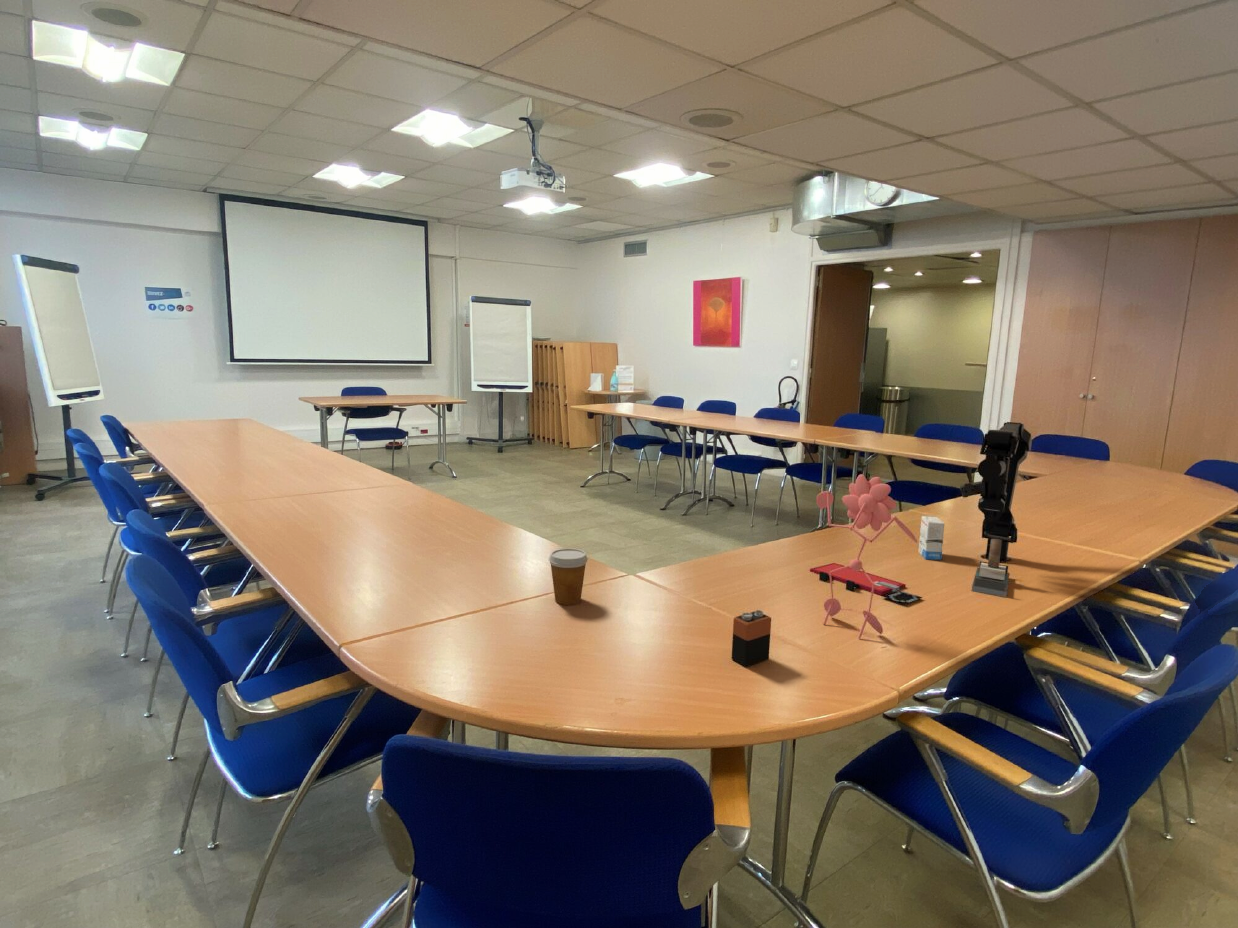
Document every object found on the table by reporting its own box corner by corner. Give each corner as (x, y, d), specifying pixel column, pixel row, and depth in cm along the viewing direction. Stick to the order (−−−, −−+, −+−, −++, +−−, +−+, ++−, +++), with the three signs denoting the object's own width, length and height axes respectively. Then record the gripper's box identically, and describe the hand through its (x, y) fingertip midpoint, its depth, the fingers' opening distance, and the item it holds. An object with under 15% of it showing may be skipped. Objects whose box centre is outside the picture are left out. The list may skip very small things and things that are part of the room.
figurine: (892, 654, 135) (910, 488, 130) (792, 613, 156) (804, 468, 150) (931, 638, 144) (949, 482, 139) (831, 601, 165) (844, 464, 159)
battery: (730, 659, 132) (732, 612, 130) (754, 651, 136) (756, 605, 134) (745, 668, 128) (748, 620, 126) (769, 659, 132) (772, 612, 130)
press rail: (976, 572, 188) (978, 560, 188) (1008, 577, 184) (1010, 566, 184) (971, 590, 173) (972, 578, 173) (1006, 597, 169) (1007, 584, 169)
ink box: (941, 560, 199) (945, 523, 197) (924, 559, 200) (928, 522, 198) (934, 552, 207) (938, 516, 205) (917, 551, 208) (921, 515, 206)
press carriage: (980, 570, 184) (984, 536, 182) (1004, 575, 181) (1009, 539, 179) (979, 575, 180) (983, 540, 178) (1004, 580, 177) (1008, 543, 175)
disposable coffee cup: (592, 596, 164) (593, 550, 162) (578, 610, 155) (578, 561, 153) (558, 591, 167) (558, 545, 165) (541, 604, 158) (541, 556, 156)
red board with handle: (900, 608, 160) (932, 597, 169) (901, 597, 160) (933, 587, 169) (801, 575, 184) (833, 567, 193) (801, 566, 184) (834, 558, 193)
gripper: (966, 467, 196) (961, 517, 199) (960, 476, 181) (954, 530, 183) (1009, 471, 190) (1003, 523, 193) (1007, 481, 175) (1000, 537, 177)
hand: (989, 528), depth 187 cm, fingers open, 9 cm apart
